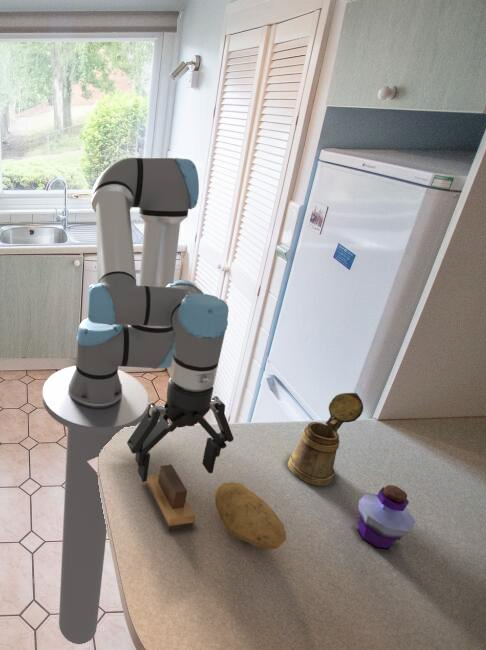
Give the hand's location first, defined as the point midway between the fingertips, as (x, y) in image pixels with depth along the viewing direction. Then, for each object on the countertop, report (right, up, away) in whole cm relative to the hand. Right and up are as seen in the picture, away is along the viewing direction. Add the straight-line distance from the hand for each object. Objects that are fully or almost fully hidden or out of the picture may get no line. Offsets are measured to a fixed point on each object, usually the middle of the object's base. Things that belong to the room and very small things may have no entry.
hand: (174, 472), depth 88 cm
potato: (+13, -11, -1) cm, 17 cm away
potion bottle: (+38, -12, -2) cm, 39 cm away
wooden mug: (+37, -4, +15) cm, 40 cm away
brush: (0, -9, +4) cm, 10 cm away
